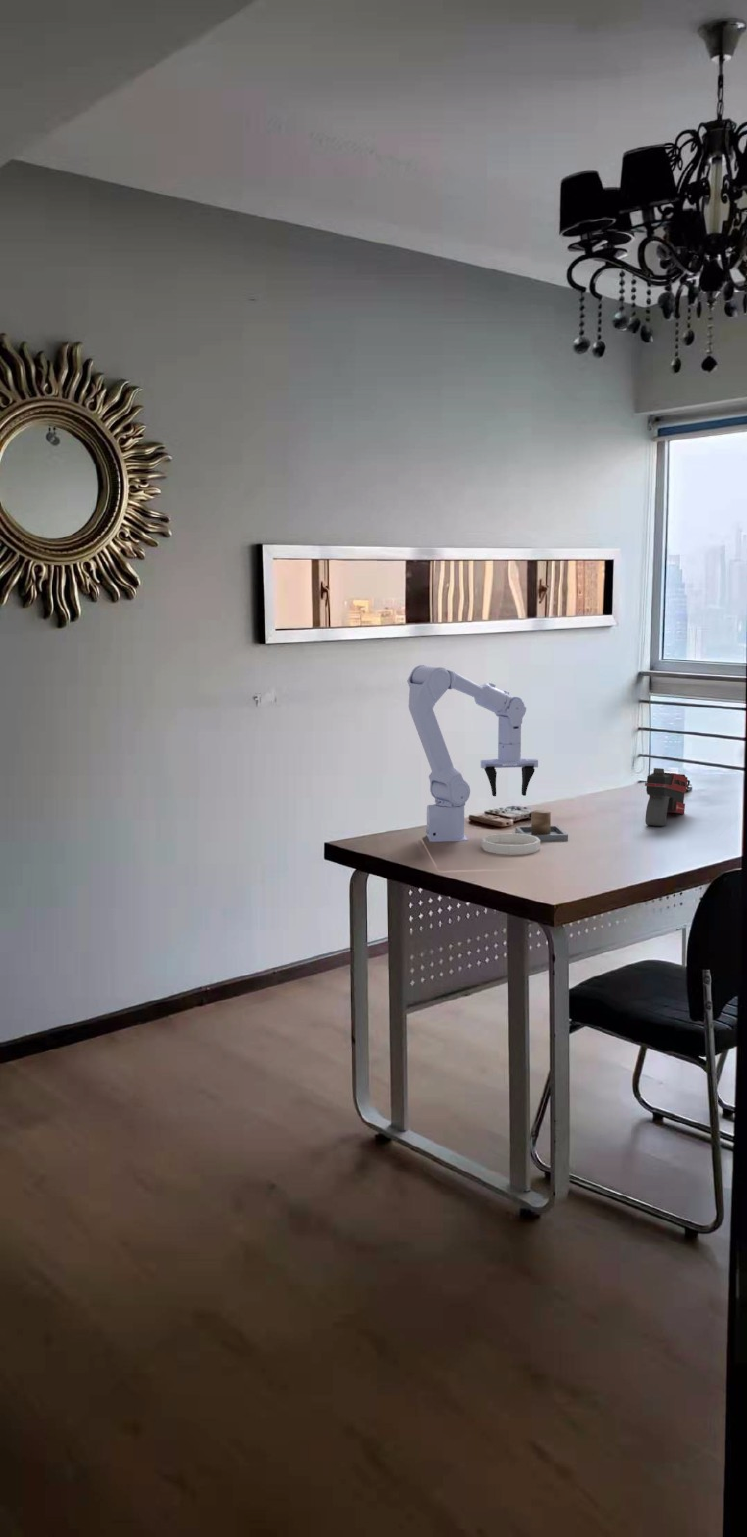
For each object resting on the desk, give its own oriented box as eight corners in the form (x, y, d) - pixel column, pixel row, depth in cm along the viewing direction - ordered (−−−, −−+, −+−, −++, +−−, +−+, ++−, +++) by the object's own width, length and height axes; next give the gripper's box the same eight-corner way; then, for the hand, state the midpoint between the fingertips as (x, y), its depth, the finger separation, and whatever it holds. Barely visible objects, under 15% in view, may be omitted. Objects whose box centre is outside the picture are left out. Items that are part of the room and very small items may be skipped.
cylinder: (532, 837, 297) (533, 814, 296) (529, 833, 302) (530, 810, 301) (552, 837, 297) (552, 813, 296) (548, 833, 302) (548, 810, 301)
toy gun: (641, 824, 310) (646, 766, 311) (663, 827, 331) (668, 773, 332) (661, 826, 308) (667, 768, 309) (683, 829, 329) (688, 775, 329)
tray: (523, 843, 294) (524, 835, 294) (515, 833, 305) (515, 826, 305) (567, 841, 295) (568, 834, 295) (557, 832, 306) (557, 825, 305)
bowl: (487, 856, 280) (487, 846, 280) (478, 843, 294) (478, 833, 293) (544, 855, 281) (544, 844, 281) (532, 842, 294) (533, 832, 294)
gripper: (483, 745, 300) (483, 798, 302) (540, 744, 301) (540, 797, 303) (479, 741, 307) (479, 793, 309) (535, 740, 308) (534, 792, 310)
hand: (508, 795), depth 306 cm, fingers open, 7 cm apart
